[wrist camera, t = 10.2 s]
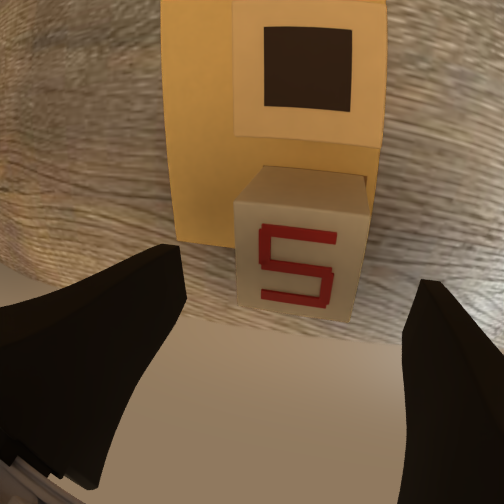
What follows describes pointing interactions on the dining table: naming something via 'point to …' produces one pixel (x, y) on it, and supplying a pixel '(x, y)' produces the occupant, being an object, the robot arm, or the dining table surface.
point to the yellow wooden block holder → (267, 98)
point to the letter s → (301, 242)
